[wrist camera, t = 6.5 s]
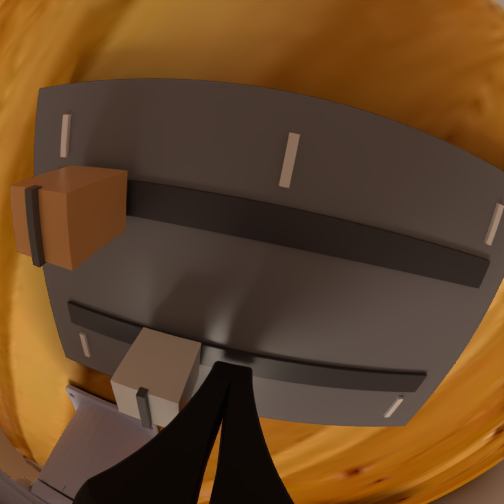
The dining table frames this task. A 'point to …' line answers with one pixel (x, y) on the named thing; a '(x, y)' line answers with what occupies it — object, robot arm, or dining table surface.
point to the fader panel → (278, 242)
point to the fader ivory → (156, 377)
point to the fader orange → (68, 213)
